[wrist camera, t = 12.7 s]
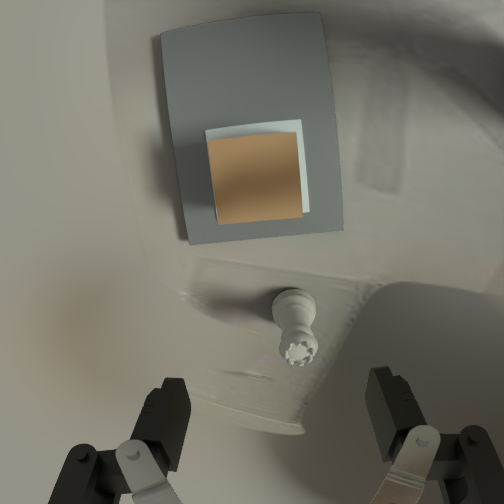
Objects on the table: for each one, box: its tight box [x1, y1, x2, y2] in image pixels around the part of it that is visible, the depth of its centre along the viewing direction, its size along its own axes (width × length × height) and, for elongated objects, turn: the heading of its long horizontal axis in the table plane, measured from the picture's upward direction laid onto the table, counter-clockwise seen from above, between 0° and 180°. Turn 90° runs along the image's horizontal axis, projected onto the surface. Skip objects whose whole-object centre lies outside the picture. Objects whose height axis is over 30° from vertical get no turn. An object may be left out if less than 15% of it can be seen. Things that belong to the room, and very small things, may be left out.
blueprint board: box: [160, 12, 344, 245], centre depth 25 cm, size 20×14×1 cm
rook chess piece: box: [271, 289, 318, 367], centre depth 28 cm, size 4×4×8 cm
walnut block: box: [208, 132, 303, 225], centre depth 24 cm, size 6×6×5 cm
